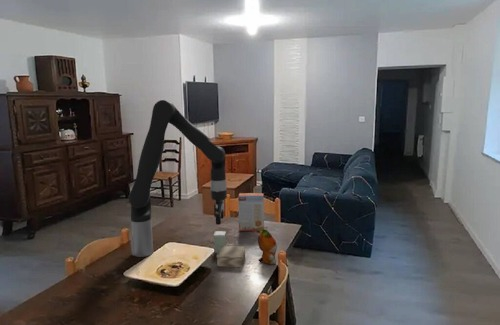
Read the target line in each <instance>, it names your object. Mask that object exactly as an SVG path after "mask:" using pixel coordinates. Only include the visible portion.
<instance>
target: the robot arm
mask: <svg viewBox="0 0 500 325" xmlns="http://www.w3.org/2000/svg"><path fill="white" fill-rule="evenodd" d="M168 124H170V125H172V126H173V127H175V128H176V129H177V130H178V131H179V132H180V133H181V134H182V135H183V136H184V138H186V139H187V140H188V141H189V142H190V143H191V144H193V145H194V147H196V148H197V149H198V150H199V151H200V152H202V153H203V154H204V155H205V157H206V158H207V159H208V160H210V162H211V163H210V164H211V168H210V198H211V200H214V204H213V212H214V214H213V216H214V218H215V224H216V225H217V226H218V225H221V221H222V219H224V211H225V199H227V196H228V193H227V192H228V191H227V188H228V187H227V181H226V179H227V178H226V177H227V175H226V151H225V149H224V147H221V146H218V145H216V144H214V143H213V141H212V140H211V138H210V137H209V136H207V134H205V133H204V132H203V131H201V129H199V128H198V127H196V125H194V124H193V123H192V122H191V121H189V120H188V119H187V118H186V117H185V116H184V115H183V114H182V113H181V112H180V111H179V110H178V108H176V106H175V105H174V103H173V102H171V101H169V100H166V99H164V100H163V99H162V100H158V101H157V102H156V103H155V104H154V105H153V107H152V112H151V119H150V125H149V129H148V132H147V134H146V137H145V140H144V143H143V146H142V149H141V153H140V156H139V160H138V164H137V165H138V166H137V173H136V177H135V179H134V180H135V181H134V183H133V185H132V188H131V190H130V192H129V195H128V201H129V204H130V220H131V222H130V223H131V224H130V225H131V235H130V248H131V249H130V250H131V255H132V256H133V257H136V258H143V257H149V256H151V255H152V254H154V243H153V242H154V240H153V226H152V204H151V203H152V199H151V188H152V184H153V180H154V177H155V175H156V174H157V171H158V168H159V165H160V163H161V160H162V158H163V157H162V156H163V152H164V149H165V136H166V132H167V131H166V130H167V128H168ZM217 213H218V214H217Z"/></svg>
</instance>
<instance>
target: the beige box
mask: <svg viewBox="0 0 500 325" xmlns="http://www.w3.org/2000/svg"><path fill="white" fill-rule="evenodd" d="M246 249H247V248H246V246H234V245H233V246H231V245H230V246H228V245H226V246H221V248H220V250H219V252H218V253H216V259H217V260H216V262H217V263H216V264H217V267H228V268H229V267H231V268H242V267H243V264H244V261H245V259H246Z"/></svg>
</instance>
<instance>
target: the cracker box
mask: <svg viewBox="0 0 500 325" xmlns="http://www.w3.org/2000/svg"><path fill="white" fill-rule="evenodd" d="M237 198H238V199H237V200H238V231H239V232H260V231H261V230H263V229H264V230H265V194H264V193H262V192H261V193H259V192H256V193H255V192H248V193H247V192H245V193H244V192H239V194H238V197H237Z"/></svg>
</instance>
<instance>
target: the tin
mask: <svg viewBox="0 0 500 325" xmlns="http://www.w3.org/2000/svg"><path fill="white" fill-rule="evenodd" d="M213 241H214V242H213V244H214V246H213V248H214V254H218V252H219V250H220V248H221V246H227V231H221V230H216V231H214V234H213Z"/></svg>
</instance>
